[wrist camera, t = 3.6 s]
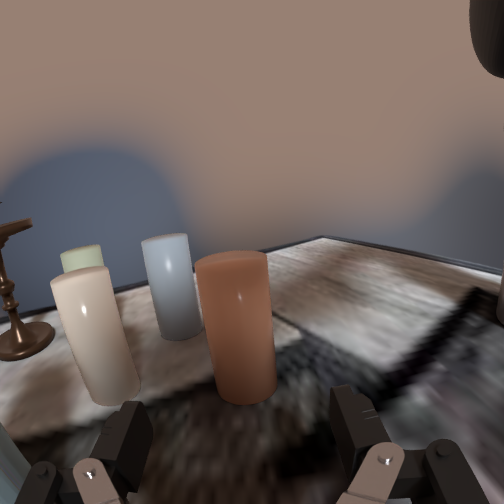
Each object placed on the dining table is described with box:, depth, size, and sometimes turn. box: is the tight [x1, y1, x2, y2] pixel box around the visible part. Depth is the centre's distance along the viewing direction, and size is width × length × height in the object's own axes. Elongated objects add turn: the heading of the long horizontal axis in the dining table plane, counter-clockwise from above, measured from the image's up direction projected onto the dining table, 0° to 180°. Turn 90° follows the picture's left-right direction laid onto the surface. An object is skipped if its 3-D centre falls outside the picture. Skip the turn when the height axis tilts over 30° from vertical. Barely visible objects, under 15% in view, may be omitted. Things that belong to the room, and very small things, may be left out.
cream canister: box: [50, 266, 141, 406], centre depth 21 cm, size 5×5×10 cm
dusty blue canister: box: [141, 233, 202, 341], centre depth 31 cm, size 5×5×10 cm
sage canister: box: [60, 245, 104, 273], centre depth 31 cm, size 5×5×10 cm
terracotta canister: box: [195, 250, 277, 405], centre depth 21 cm, size 5×5×10 cm
